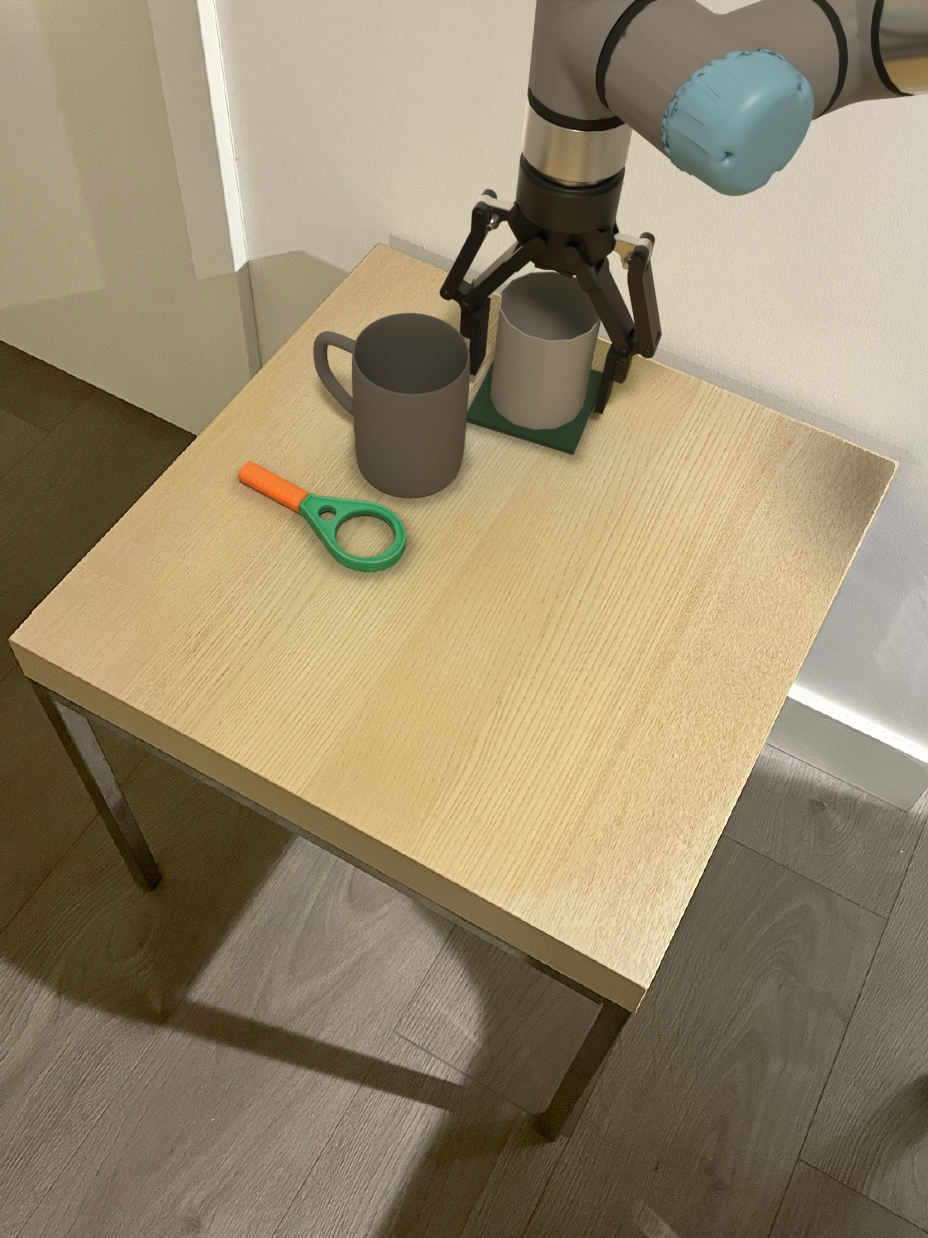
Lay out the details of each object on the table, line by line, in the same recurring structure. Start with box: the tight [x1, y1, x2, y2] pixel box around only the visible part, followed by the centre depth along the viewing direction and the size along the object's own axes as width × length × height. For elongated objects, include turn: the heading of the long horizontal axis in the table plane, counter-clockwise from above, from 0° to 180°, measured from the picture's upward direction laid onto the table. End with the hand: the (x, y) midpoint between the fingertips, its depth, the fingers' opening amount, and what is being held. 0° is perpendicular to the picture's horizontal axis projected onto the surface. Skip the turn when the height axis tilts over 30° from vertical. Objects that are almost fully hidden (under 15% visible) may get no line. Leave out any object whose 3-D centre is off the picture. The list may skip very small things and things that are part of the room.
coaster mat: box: [466, 359, 603, 456], centre depth 95 cm, size 10×10×1 cm
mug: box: [312, 312, 471, 499], centre depth 86 cm, size 14×9×12 cm
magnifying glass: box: [237, 460, 407, 573], centre depth 86 cm, size 15×6×2 cm, turn 59°
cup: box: [490, 270, 602, 430], centre depth 91 cm, size 8×8×10 cm
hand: (538, 383), depth 94 cm, fingers open, 11 cm apart
